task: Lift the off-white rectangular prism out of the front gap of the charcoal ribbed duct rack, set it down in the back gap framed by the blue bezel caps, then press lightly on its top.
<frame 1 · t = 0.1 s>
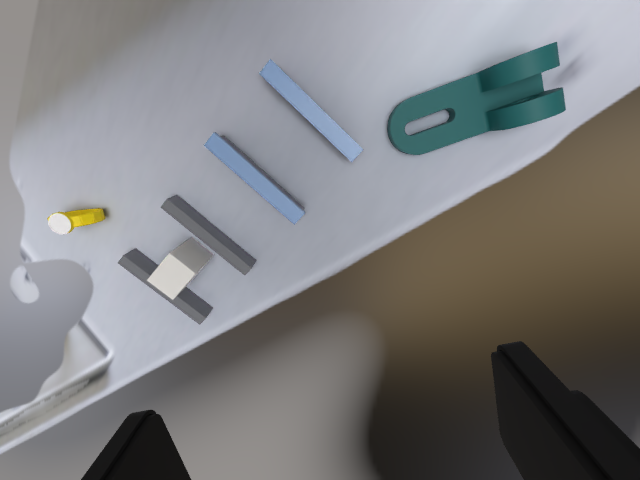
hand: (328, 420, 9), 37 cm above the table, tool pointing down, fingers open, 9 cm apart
watch: (92, 213, 47), on the table
bracket: (457, 110, 42), on the table
off-white rectangular prism: (193, 257, 48), on the table
duct rack: (237, 205, 45), on the table
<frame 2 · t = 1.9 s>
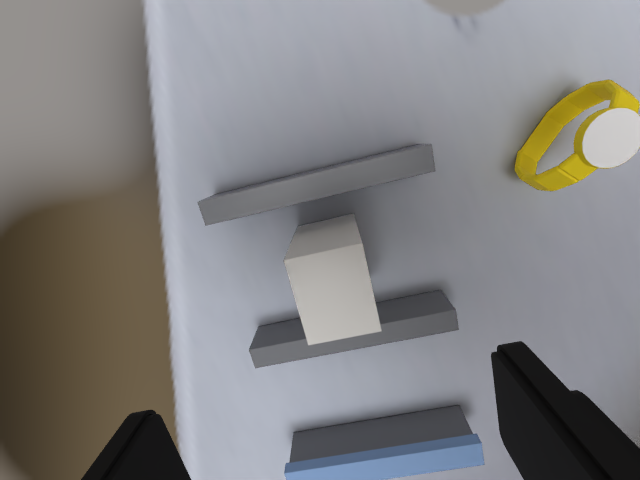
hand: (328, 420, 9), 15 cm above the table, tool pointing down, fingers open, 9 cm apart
watch: (537, 139, 21), on the table
off-white rectangular prism: (333, 253, 24), on the table
duct rack: (363, 374, 26), on the table
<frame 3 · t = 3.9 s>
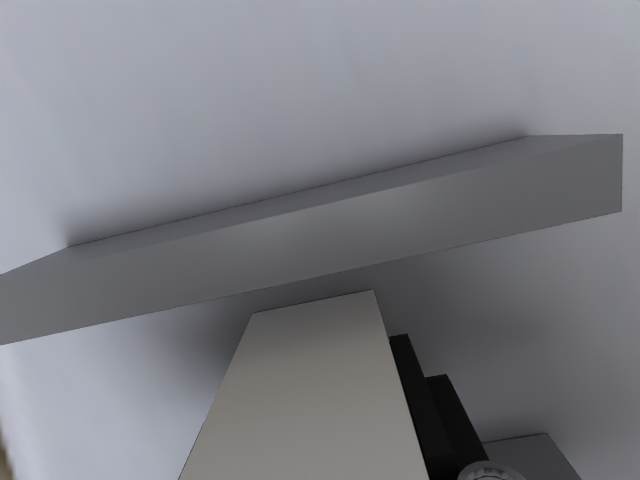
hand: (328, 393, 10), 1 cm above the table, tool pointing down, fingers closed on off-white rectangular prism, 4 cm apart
off-white rectangular prism: (329, 366, 11), on the table, touching gripper
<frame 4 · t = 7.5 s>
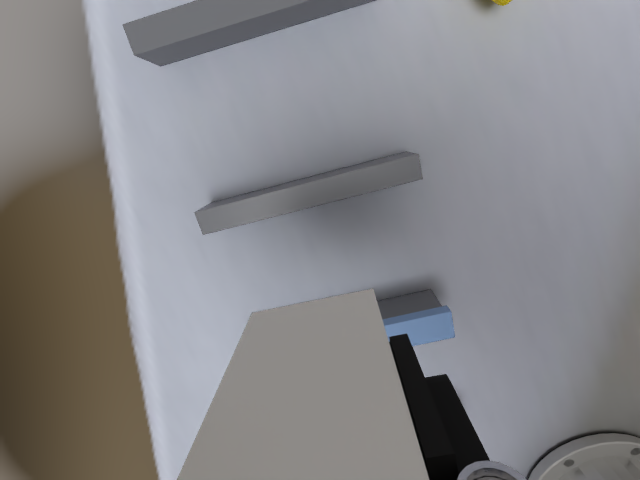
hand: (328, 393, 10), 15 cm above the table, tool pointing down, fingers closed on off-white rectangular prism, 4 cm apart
off-white rectangular prism: (328, 365, 11), point 13 cm above the table, touching gripper
duct rack: (327, 257, 24), on the table
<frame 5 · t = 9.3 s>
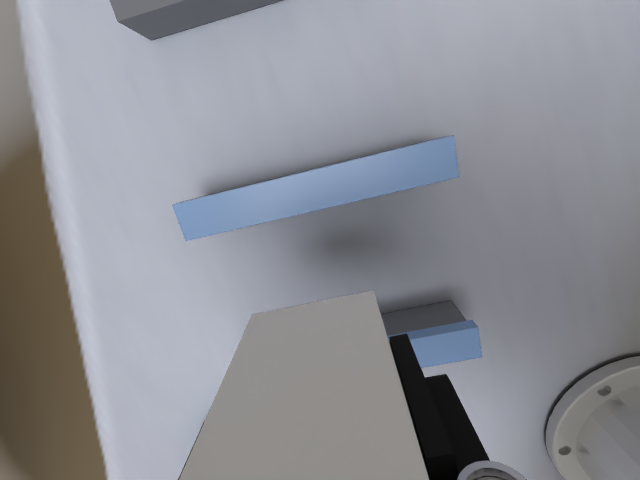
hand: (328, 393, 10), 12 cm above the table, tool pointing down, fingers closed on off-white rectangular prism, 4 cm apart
off-white rectangular prism: (329, 367, 11), point 11 cm above the table, touching gripper
duct rack: (293, 92, 19), on the table
when the fingers open (3 cm above the table, at t = 11.1 s): off-white rectangular prism drops 2 cm, on the table.
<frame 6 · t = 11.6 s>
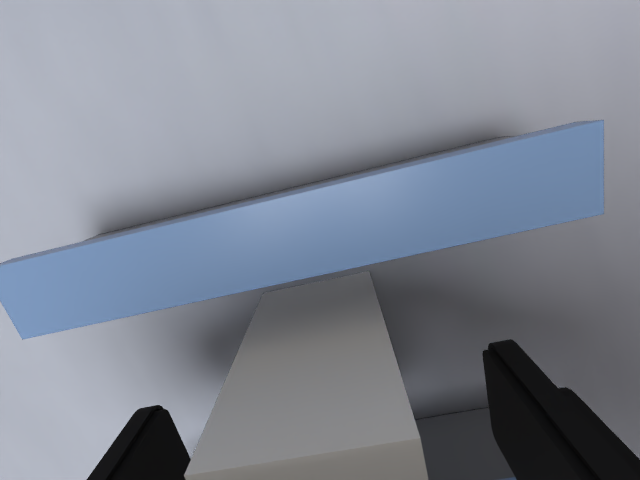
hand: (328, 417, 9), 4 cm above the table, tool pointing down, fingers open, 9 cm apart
off-white rectangular prism: (330, 339, 13), on the table
duct rack: (247, 41, 10), on the table
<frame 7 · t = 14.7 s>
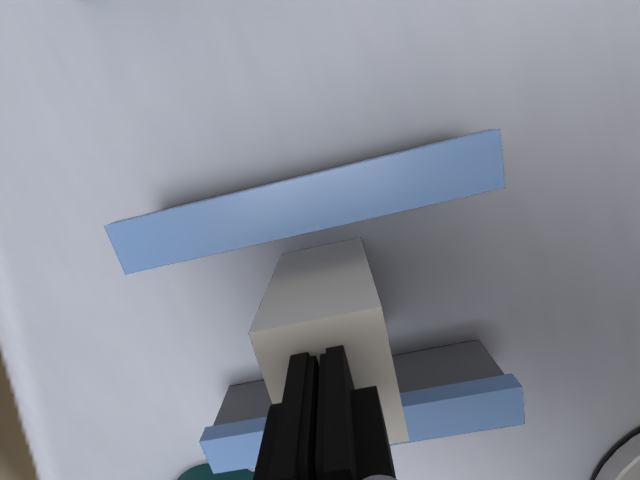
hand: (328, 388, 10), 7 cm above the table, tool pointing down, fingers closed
off-white rectangular prism: (331, 291, 17), on the table, touching gripper
duct rack: (274, 72, 14), on the table
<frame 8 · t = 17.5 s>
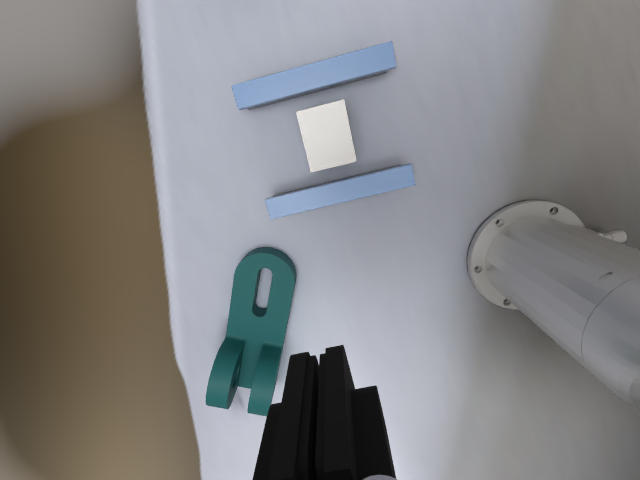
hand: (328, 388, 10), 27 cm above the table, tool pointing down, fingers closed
bracket: (261, 314, 41), on the table
off-white rectangular prism: (327, 137, 34), on the table
duct rack: (301, 24, 31), on the table
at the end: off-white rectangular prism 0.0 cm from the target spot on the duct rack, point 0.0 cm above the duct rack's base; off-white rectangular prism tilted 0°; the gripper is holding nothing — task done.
